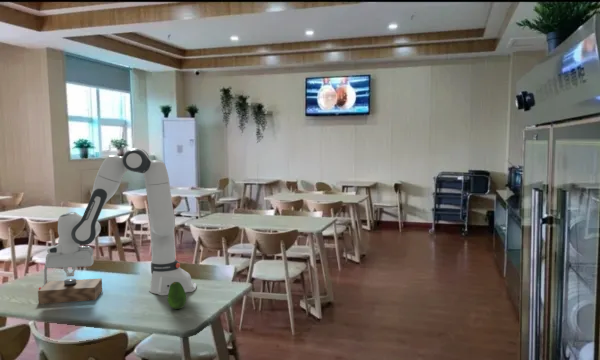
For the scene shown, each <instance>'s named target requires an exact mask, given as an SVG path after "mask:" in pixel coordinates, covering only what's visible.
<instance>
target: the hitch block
mask: <svg viewBox="0 0 600 360" xmlns="http://www.w3.org/2000/svg"><path fill="white" fill-rule="evenodd" d="M102 291H103V279H102V278H87V279H85V278H84V279H76V284H75V285H74V286H64V280H51V281H47V283H46V284H45V285H44V284H43V285H42V288H41V289H40V290H39V289H38V290H37V297H38V305H43V304H57V303H71V302H72V303H73V302H85V301H87V302H88V301H89V302H90V301H96V299H97V298H98V297H99V296H100V294H101V293H102Z"/></svg>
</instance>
